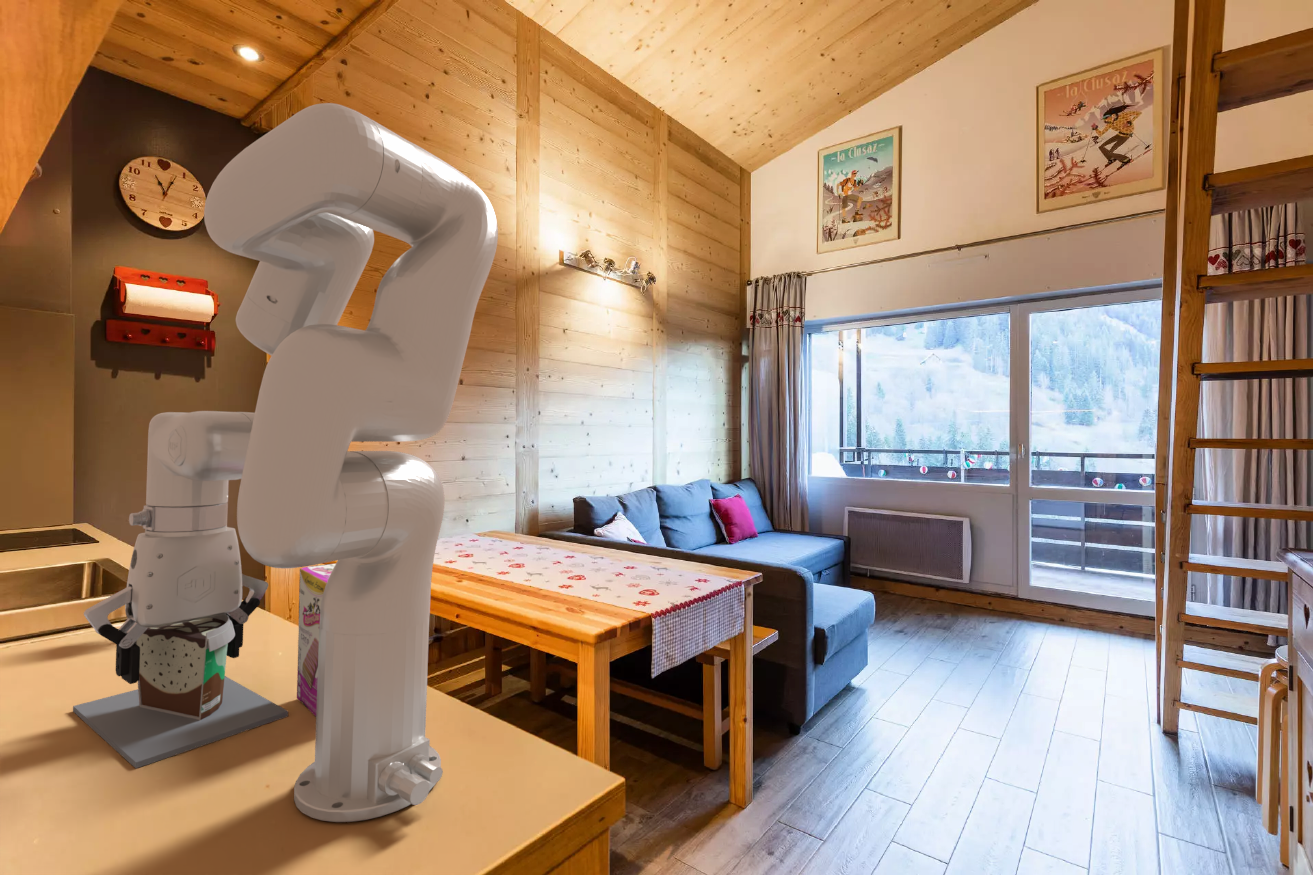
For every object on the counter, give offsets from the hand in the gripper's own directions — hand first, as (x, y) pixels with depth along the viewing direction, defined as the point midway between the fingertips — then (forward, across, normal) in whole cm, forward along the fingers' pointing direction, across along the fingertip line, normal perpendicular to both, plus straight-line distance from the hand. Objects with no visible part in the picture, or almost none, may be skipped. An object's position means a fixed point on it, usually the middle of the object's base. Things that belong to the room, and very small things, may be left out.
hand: (182, 667), depth 71 cm
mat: (+5, 0, 0) cm, 5 cm away
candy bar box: (+6, +11, -12) cm, 17 cm away
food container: (+5, +2, 0) cm, 5 cm away
